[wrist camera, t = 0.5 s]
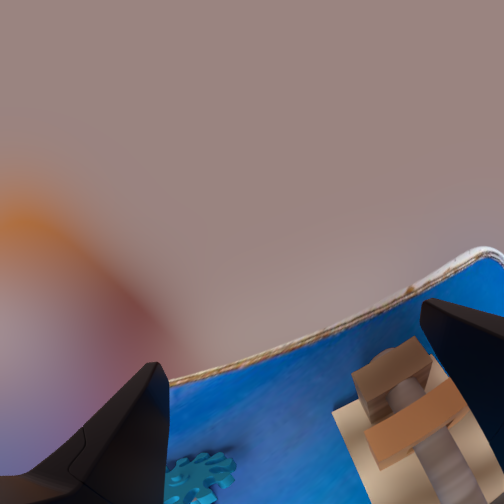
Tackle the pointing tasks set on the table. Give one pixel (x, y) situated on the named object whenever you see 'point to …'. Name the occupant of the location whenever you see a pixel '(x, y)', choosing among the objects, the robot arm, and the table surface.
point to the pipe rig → (426, 452)
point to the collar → (415, 424)
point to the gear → (197, 479)
